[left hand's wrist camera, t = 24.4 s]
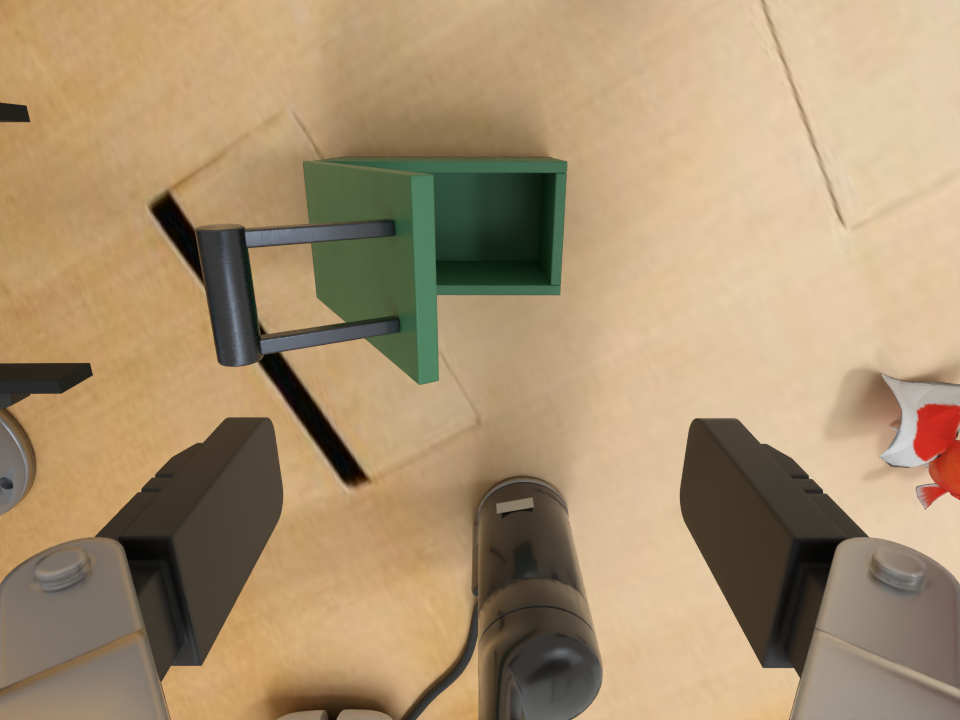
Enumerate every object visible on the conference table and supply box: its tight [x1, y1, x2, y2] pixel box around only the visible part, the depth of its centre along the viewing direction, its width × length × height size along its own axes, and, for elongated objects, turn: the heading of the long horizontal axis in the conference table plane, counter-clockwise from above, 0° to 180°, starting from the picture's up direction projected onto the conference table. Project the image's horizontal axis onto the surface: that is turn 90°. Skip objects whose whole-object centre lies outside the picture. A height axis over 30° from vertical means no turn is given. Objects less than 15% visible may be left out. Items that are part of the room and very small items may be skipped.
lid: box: [195, 161, 439, 385], centre depth 30 cm, size 18×9×9 cm
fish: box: [880, 373, 960, 510], centre depth 52 cm, size 11×16×10 cm
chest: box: [316, 157, 567, 295], centre depth 44 cm, size 17×9×10 cm, turn 90°
